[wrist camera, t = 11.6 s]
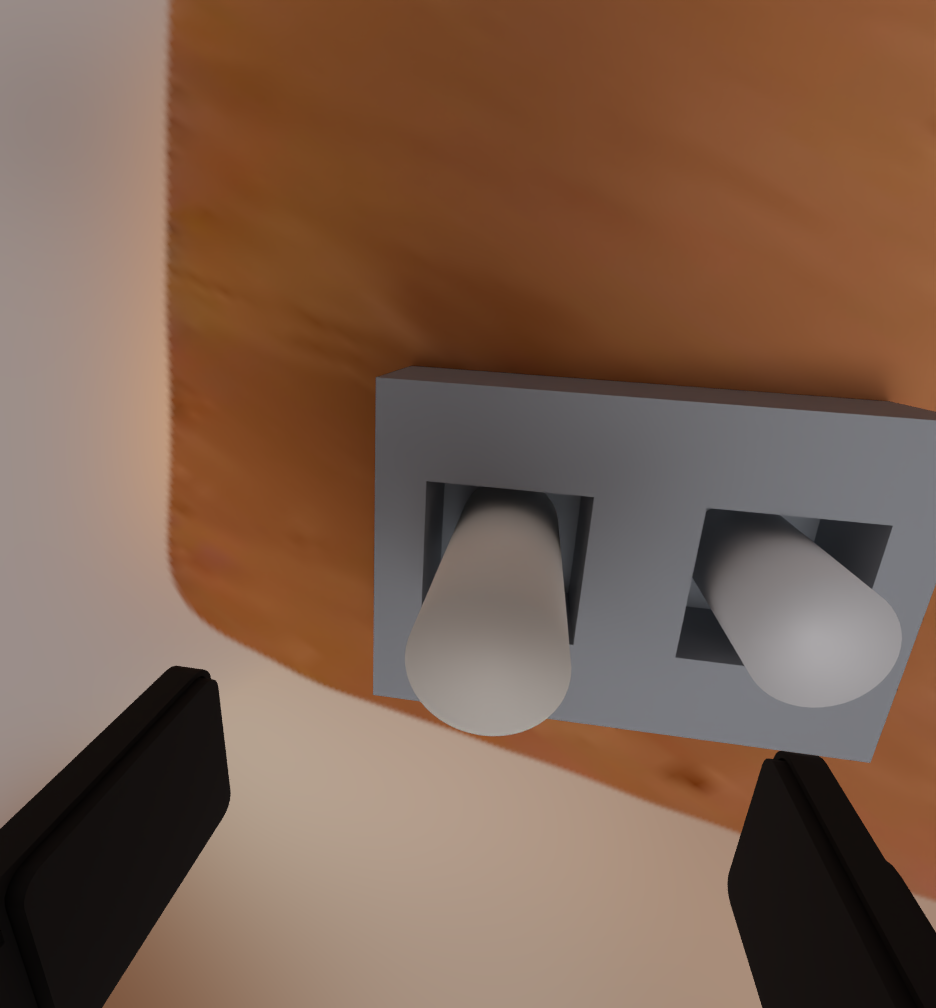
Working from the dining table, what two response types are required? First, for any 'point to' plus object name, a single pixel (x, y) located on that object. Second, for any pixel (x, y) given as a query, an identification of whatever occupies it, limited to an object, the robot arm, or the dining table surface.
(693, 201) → the dining table surface
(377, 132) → the dining table surface
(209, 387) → the dining table surface
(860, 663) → the socket block
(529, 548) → the peg
